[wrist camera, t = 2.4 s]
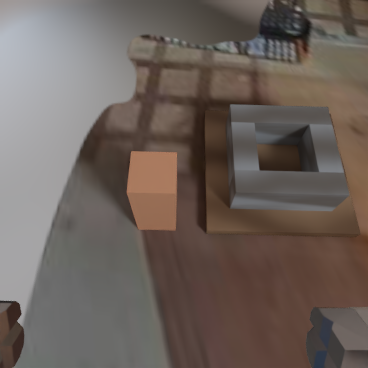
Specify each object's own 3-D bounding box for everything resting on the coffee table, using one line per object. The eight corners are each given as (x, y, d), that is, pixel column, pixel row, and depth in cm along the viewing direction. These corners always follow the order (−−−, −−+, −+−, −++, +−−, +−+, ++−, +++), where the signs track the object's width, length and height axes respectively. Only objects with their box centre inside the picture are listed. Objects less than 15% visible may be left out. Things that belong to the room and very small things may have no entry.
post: (141, 195, 36) (131, 151, 28) (176, 196, 36) (177, 152, 28) (138, 229, 34) (126, 192, 26) (175, 230, 34) (175, 193, 26)
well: (204, 115, 41) (207, 87, 37) (327, 118, 41) (345, 91, 37) (206, 233, 34) (210, 215, 29) (355, 237, 34) (382, 220, 30)
